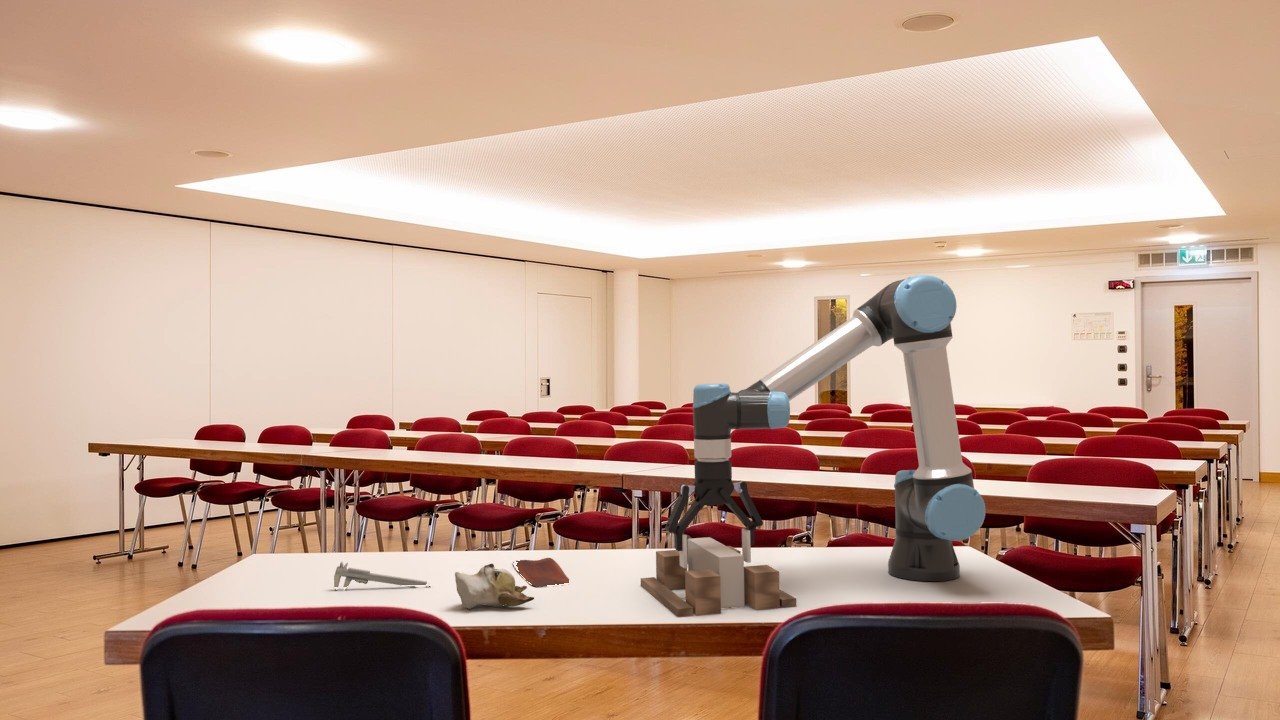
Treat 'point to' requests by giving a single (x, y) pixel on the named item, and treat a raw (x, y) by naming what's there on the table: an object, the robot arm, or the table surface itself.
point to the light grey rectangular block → (719, 568)
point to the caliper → (369, 577)
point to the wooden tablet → (542, 572)
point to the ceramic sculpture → (490, 588)
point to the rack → (711, 587)
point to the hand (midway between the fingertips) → (715, 564)
